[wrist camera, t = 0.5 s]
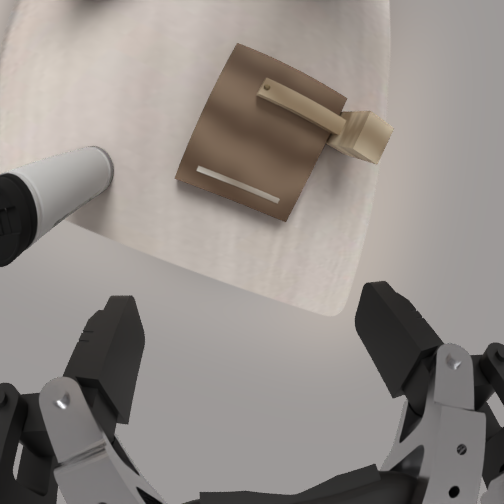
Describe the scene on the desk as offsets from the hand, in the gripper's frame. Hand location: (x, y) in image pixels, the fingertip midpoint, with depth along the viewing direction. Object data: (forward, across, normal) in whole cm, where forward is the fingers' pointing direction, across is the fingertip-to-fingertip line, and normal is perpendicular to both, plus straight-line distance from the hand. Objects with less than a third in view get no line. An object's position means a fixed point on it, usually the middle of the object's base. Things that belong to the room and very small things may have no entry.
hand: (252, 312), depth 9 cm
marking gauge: (+25, -9, -7) cm, 28 cm away
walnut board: (+25, -4, -5) cm, 26 cm away
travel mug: (+25, +17, -2) cm, 31 cm away
